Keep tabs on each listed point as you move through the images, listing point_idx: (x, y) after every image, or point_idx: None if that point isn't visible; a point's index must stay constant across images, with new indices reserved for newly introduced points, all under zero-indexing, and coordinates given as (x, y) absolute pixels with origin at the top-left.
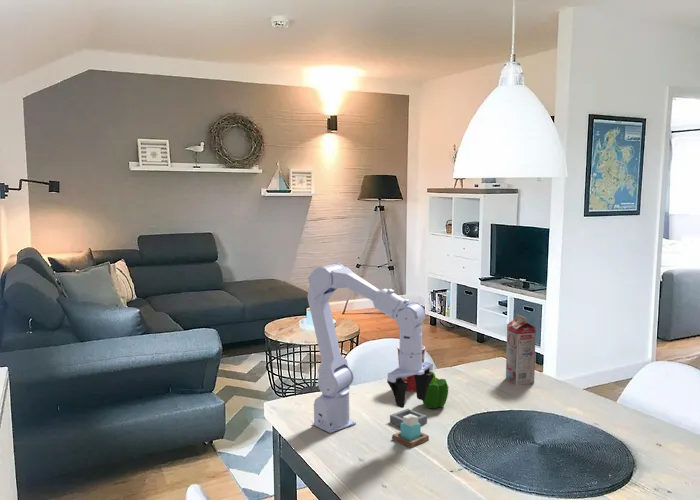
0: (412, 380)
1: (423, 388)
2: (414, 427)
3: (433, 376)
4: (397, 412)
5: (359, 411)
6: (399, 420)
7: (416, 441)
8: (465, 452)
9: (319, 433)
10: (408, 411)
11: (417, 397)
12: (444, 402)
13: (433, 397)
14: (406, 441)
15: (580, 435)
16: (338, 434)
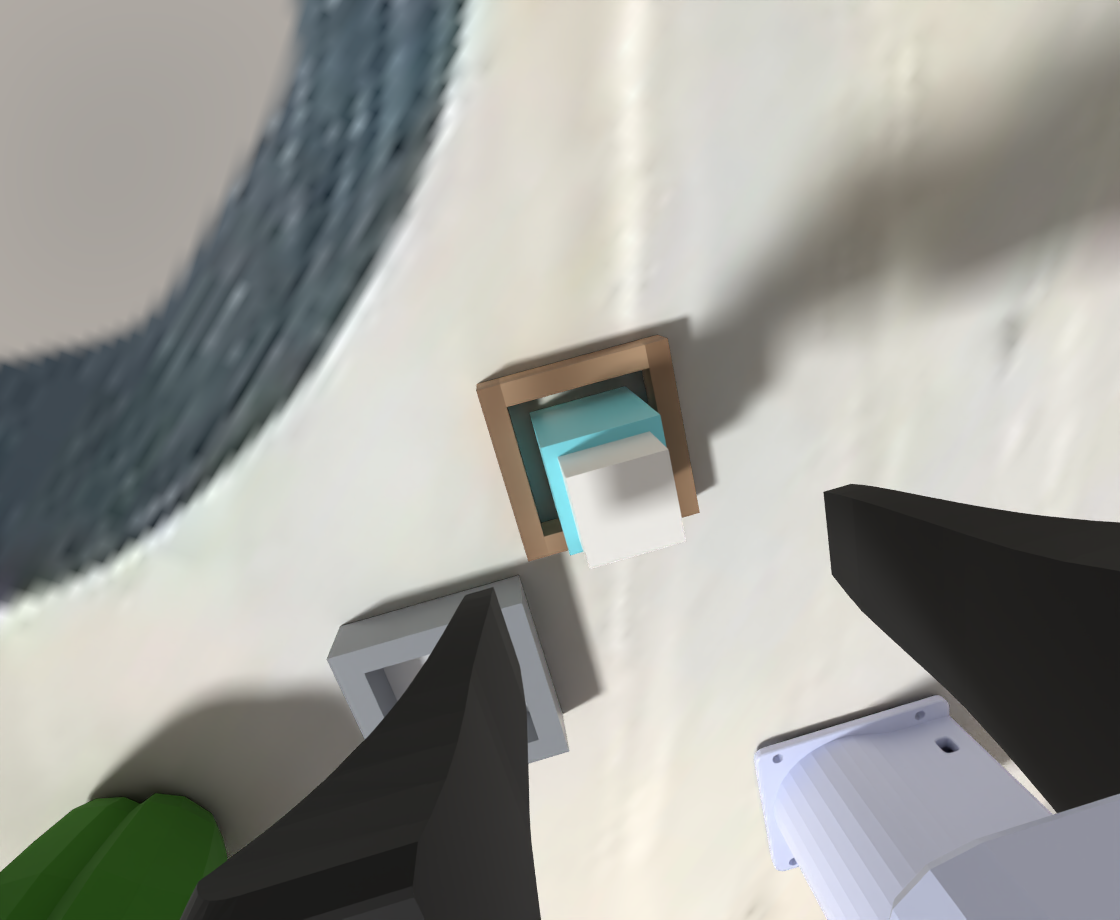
0: None
1: (483, 703)
2: (611, 424)
3: (200, 888)
4: None
5: (642, 880)
6: (545, 672)
7: (608, 352)
8: (315, 46)
9: None
10: None
11: (520, 671)
12: (61, 822)
13: (141, 867)
14: (674, 382)
15: None
16: (906, 669)
